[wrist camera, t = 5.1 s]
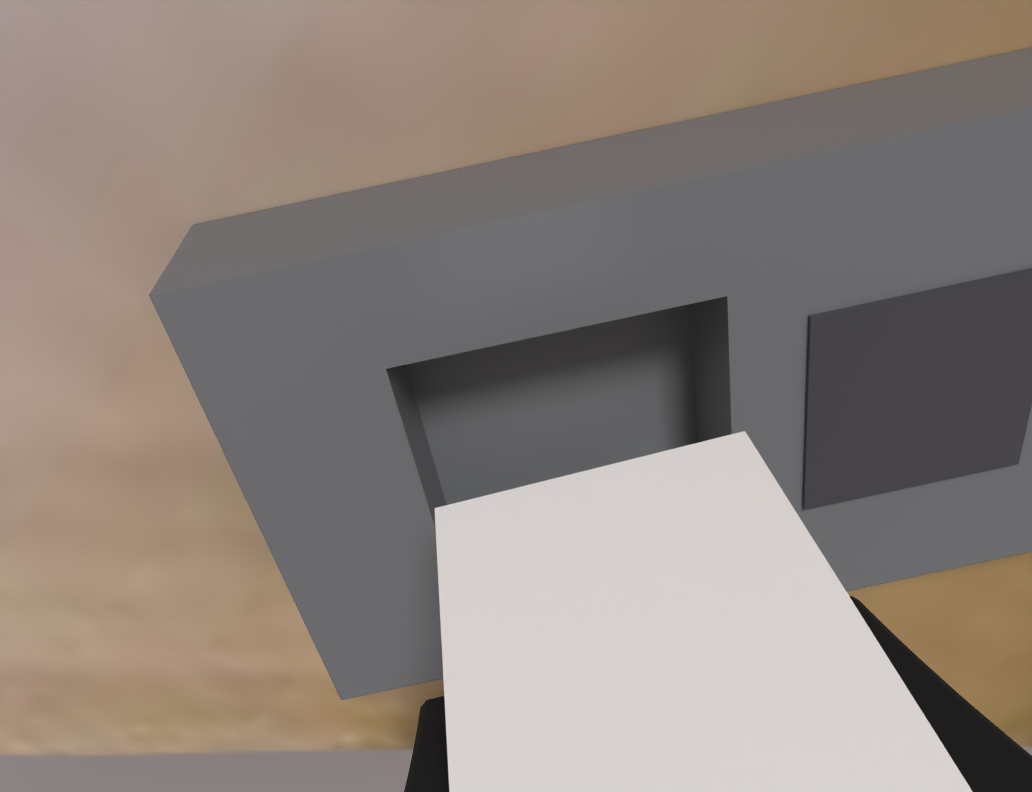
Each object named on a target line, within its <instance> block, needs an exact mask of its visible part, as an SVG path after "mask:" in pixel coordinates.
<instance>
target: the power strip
mask: <svg viewBox="0 0 1032 792" xmlns="http://www.w3.org/2000/svg"><path fill="white" fill-rule="evenodd" d="M149 296H150V298H151V300H152V302H153V305H154V307H155V309H156V311H157V313H158V315H159V317H160V319H161V321H162V323H163V326H164V328H165V330H166V332H167V334H168V336H169V338H170V340H171V342H172V345H173V347H174V349H175V351H176V353H177V355H178V357H179V359H180V361H181V364H182V366H183V368H184V370H185V372H186V374H187V376H188V378H189V380H190V383H191V385H192V387H193V389H194V391H195V393H196V395H197V397H198V399H199V401H200V404H201V406H202V408H203V410H204V412H205V414H206V416H207V418H208V420H209V423H210V425H211V427H212V429H213V431H214V433H215V435H216V437H217V439H218V442H219V444H220V446H221V448H222V450H223V452H224V454H225V456H226V458H227V461H228V463H229V465H230V467H231V469H232V471H233V473H234V475H235V477H236V479H237V482H238V484H239V486H240V488H241V490H242V492H243V494H244V496H245V498H246V501H247V503H248V505H249V507H250V509H251V511H252V513H253V515H254V517H255V520H256V522H257V524H258V526H259V528H260V530H261V532H262V534H263V536H264V539H265V541H266V543H267V545H268V547H269V549H270V551H271V553H272V555H273V557H274V560H275V562H276V564H277V566H278V568H279V570H280V572H281V574H282V576H283V579H284V581H285V583H286V585H287V587H288V589H289V591H290V593H291V595H292V598H293V600H294V602H295V604H296V606H297V608H298V610H299V612H300V614H301V617H302V619H303V621H304V623H305V625H306V627H307V629H308V631H309V633H310V635H311V638H312V640H313V642H314V644H315V646H316V648H317V650H318V652H319V654H320V657H321V659H322V661H323V663H324V665H325V667H326V669H327V671H328V673H329V676H330V678H331V680H332V682H333V684H334V686H335V688H336V690H337V692H338V695H339V697H340V699H341V700H345V699H350V698H354V697H359V696H363V695H368V694H373V693H377V692H382V691H387V690H391V689H396V688H401V687H405V686H410V685H415V684H419V683H424V682H428V681H433V680H438V679H442V678H443V660H442V641H441V622H440V603H439V584H438V565H437V546H436V526H435V508H437V507H441V506H445V505H450V504H454V503H458V502H462V501H466V500H470V499H474V498H478V497H482V496H486V495H490V494H494V493H498V492H502V491H506V490H510V489H514V488H518V487H522V486H526V485H530V484H534V483H538V482H542V481H546V480H550V479H554V478H558V477H562V476H566V475H570V474H574V473H578V472H582V471H586V470H590V469H594V468H598V467H602V466H606V465H610V464H614V463H618V462H622V461H626V460H630V459H634V458H638V457H642V456H646V455H650V454H654V453H658V452H662V451H667V450H671V449H675V448H679V447H683V446H687V445H691V444H695V443H699V442H703V441H707V440H711V439H715V438H719V437H723V436H727V435H731V434H735V433H739V432H743V431H745V432H746V433H747V435H748V437H749V438H750V440H751V441H752V443H753V445H754V446H755V448H756V449H757V451H758V452H759V454H760V456H761V457H762V459H763V460H764V462H765V464H766V465H767V467H768V468H769V470H770V471H771V473H772V475H773V476H774V478H775V479H776V481H777V483H778V484H779V486H780V487H781V489H782V491H783V492H784V494H785V495H786V497H787V498H788V500H789V502H790V503H791V505H792V506H793V508H794V510H795V511H796V513H797V514H798V516H799V517H800V519H801V521H802V522H803V524H804V525H805V527H806V529H807V530H808V532H809V533H810V535H811V536H812V538H813V540H814V541H815V543H816V544H817V546H818V548H819V549H820V551H821V552H822V554H823V555H824V557H825V559H826V560H827V562H828V563H829V565H830V567H831V568H832V570H833V571H834V573H835V574H836V576H837V578H838V579H839V581H840V582H841V584H842V586H843V587H844V589H845V590H846V591H851V590H856V589H860V588H865V587H870V586H874V585H879V584H884V583H888V582H893V581H897V580H902V579H907V578H911V577H916V576H921V575H925V574H930V573H935V572H939V571H944V570H949V569H953V568H958V567H962V566H967V565H972V564H976V563H981V562H986V561H990V560H995V559H1000V558H1004V557H1009V556H1014V555H1018V554H1023V553H1027V552H1032V48H1027V49H1023V50H1018V51H1013V52H1008V53H1004V54H999V55H994V56H989V57H985V58H980V59H975V60H971V61H966V62H961V63H956V64H952V65H947V66H942V67H937V68H933V69H928V70H923V71H918V72H914V73H909V74H904V75H900V76H895V77H890V78H885V79H881V80H876V81H871V82H866V83H862V84H857V85H852V86H848V87H843V88H838V89H833V90H829V91H824V92H819V93H814V94H810V95H805V96H800V97H796V98H791V99H786V100H781V101H777V102H772V103H767V104H762V105H758V106H753V107H748V108H743V109H739V110H734V111H729V112H725V113H720V114H715V115H710V116H706V117H701V118H696V119H691V120H687V121H682V122H677V123H673V124H668V125H663V126H658V127H654V128H649V129H644V130H639V131H635V132H630V133H625V134H621V135H616V136H611V137H606V138H602V139H597V140H592V141H587V142H583V143H578V144H573V145H569V146H564V147H559V148H554V149H550V150H545V151H540V152H535V153H531V154H526V155H521V156H516V157H512V158H507V159H502V160H498V161H493V162H488V163H483V164H479V165H474V166H469V167H464V168H460V169H455V170H450V171H446V172H441V173H436V174H431V175H427V176H422V177H417V178H412V179H408V180H403V181H398V182H394V183H389V184H384V185H379V186H375V187H370V188H365V189H360V190H356V191H351V192H346V193H341V194H337V195H332V196H327V197H323V198H318V199H313V200H308V201H304V202H299V203H294V204H289V205H285V206H280V207H275V208H271V209H266V210H261V211H256V212H252V213H247V214H242V215H237V216H233V217H228V218H223V219H219V220H214V221H209V222H204V223H200V224H195V225H192V227H191V228H190V230H189V232H188V233H187V235H186V236H185V238H184V240H183V241H182V243H181V244H180V246H179V248H178V249H177V251H176V253H175V254H174V256H173V257H172V259H171V261H170V262H169V264H168V265H167V267H166V269H165V270H164V272H163V273H162V275H161V277H160V278H159V280H158V281H157V283H156V285H155V286H154V288H153V290H152V291H151V293H150V294H149Z"/></svg>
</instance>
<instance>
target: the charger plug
mask: <svg viewBox="0 0 1032 792" xmlns="http://www.w3.org/2000/svg"><path fill="white" fill-rule="evenodd" d="M435 526H436V546H437V565H438V584H439V603H440V622H441V641H442V660H443V679H444V699H445V718H446V737H447V756H448V775H449V792H973V791H972V790H971V788H970V787H969V785H968V784H967V782H966V780H965V779H964V777H963V776H962V774H961V772H960V771H959V769H958V768H957V766H956V765H955V763H954V761H953V760H952V758H951V757H950V755H949V753H948V752H947V750H946V749H945V747H944V746H943V744H942V742H941V741H940V739H939V738H938V736H937V734H936V733H935V731H934V730H933V728H932V727H931V725H930V723H929V722H928V720H927V719H926V717H925V715H924V714H923V712H922V711H921V709H920V708H919V706H918V704H917V703H916V701H915V700H914V698H913V696H912V695H911V693H910V692H909V690H908V689H907V687H906V685H905V684H904V682H903V681H902V679H901V677H900V676H899V674H898V673H897V671H896V669H895V668H894V666H893V665H892V663H891V662H890V660H889V658H888V657H887V655H886V654H885V652H884V650H883V649H882V647H881V646H880V644H879V643H878V641H877V639H876V638H875V636H874V635H873V633H872V631H871V630H870V628H869V627H868V625H867V624H866V622H865V620H864V619H863V617H862V616H861V614H860V612H859V611H858V609H857V608H856V606H855V605H854V603H853V601H852V600H851V598H850V597H849V595H848V593H847V592H846V590H845V589H844V587H843V586H842V584H841V582H840V581H839V579H838V578H837V576H836V574H835V573H834V571H833V570H832V568H831V567H830V565H829V563H828V562H827V560H826V559H825V557H824V555H823V554H822V552H821V551H820V549H819V548H818V546H817V544H816V543H815V541H814V540H813V538H812V536H811V535H810V533H809V532H808V530H807V529H806V527H805V525H804V524H803V522H802V521H801V519H800V517H799V516H798V514H797V513H796V511H795V510H794V508H793V506H792V505H791V503H790V502H789V500H788V498H787V497H786V495H785V494H784V492H783V491H782V489H781V487H780V486H779V484H778V483H777V481H776V479H775V478H774V476H773V475H772V473H771V471H770V470H769V468H768V467H767V465H766V464H765V462H764V460H763V459H762V457H761V456H760V454H759V452H758V451H757V449H756V448H755V446H754V445H753V443H752V441H751V440H750V438H749V437H748V435H747V433H746V432H745V431H743V432H739V433H735V434H731V435H727V436H723V437H719V438H715V439H711V440H707V441H703V442H699V443H695V444H691V445H687V446H683V447H679V448H675V449H671V450H667V451H662V452H658V453H654V454H650V455H646V456H642V457H638V458H634V459H630V460H626V461H622V462H618V463H614V464H610V465H606V466H602V467H598V468H594V469H590V470H586V471H582V472H578V473H574V474H570V475H566V476H562V477H558V478H554V479H550V480H546V481H542V482H538V483H534V484H530V485H526V486H522V487H518V488H514V489H510V490H506V491H502V492H498V493H494V494H490V495H486V496H482V497H478V498H474V499H470V500H466V501H462V502H458V503H454V504H450V505H445V506H441V507H437V508H435Z"/></svg>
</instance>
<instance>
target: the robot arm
mask: <svg viewBox="0 0 1032 792" xmlns="http://www.w3.org/2000/svg"><path fill="white" fill-rule="evenodd" d="M849 597H850V598H851V600H852V601H853V603H854V605H855V606H856V608H857V609H858V611H859V612H860V614H861V616H862V617H863V619H864V620H865V622H866V624H867V625H868V627H869V628H870V630H871V631H872V633H873V635H874V636H875V638H876V639H877V641H878V643H879V644H880V646H881V647H882V649H883V650H884V652H885V654H886V655H887V657H888V658H889V660H890V662H891V663H892V665H893V666H894V668H895V669H896V671H897V673H898V674H899V676H900V677H901V679H902V681H903V682H904V684H905V685H906V687H907V689H908V690H909V692H910V693H911V695H912V696H913V698H914V700H915V701H916V703H917V704H918V706H919V708H920V709H921V711H922V712H923V714H924V715H925V717H926V719H927V720H928V722H929V723H930V725H931V727H932V728H933V730H934V731H935V733H936V734H937V736H938V738H939V739H940V741H941V742H942V744H943V746H944V747H945V749H946V750H947V752H948V753H949V755H950V757H951V758H952V760H953V761H954V763H955V765H956V766H957V768H958V769H959V771H960V772H961V774H962V776H963V777H964V779H965V780H966V782H967V784H968V785H969V787H970V788H971V790H972V791H973V792H1032V756H1031V755H1030V754H1029V753H1028V752H1026V751H1025V750H1024V749H1023V748H1022V747H1020V746H1019V745H1018V744H1017V743H1016V742H1014V741H1013V740H1012V739H1011V738H1010V737H1008V736H1007V735H1006V734H1005V733H1004V732H1003V731H1001V730H1000V729H999V728H998V727H997V726H995V725H994V724H993V723H992V722H991V721H990V720H988V719H987V718H986V717H985V716H984V715H982V714H981V713H980V712H979V711H978V710H977V709H975V708H974V707H973V706H972V705H971V704H970V703H968V702H967V701H966V700H965V699H964V698H963V697H962V696H960V695H959V694H958V693H957V692H956V691H955V690H954V689H952V688H951V687H950V686H949V685H948V684H947V683H946V682H945V681H944V680H942V679H941V678H940V677H939V676H938V675H937V674H936V673H935V672H934V671H933V670H931V669H930V668H929V667H928V666H927V665H926V664H925V663H924V662H923V661H922V660H920V659H919V658H918V657H917V656H916V655H915V654H914V653H913V652H912V651H911V650H910V649H909V648H908V647H907V646H905V645H904V644H903V643H902V642H901V641H900V640H899V639H898V638H897V637H896V636H895V635H894V634H893V633H892V632H891V631H890V630H889V629H888V628H887V627H886V626H885V625H884V624H882V623H881V622H880V621H879V620H878V619H877V618H876V617H875V616H874V615H873V614H872V613H871V612H870V611H869V610H868V609H867V608H866V607H865V606H864V605H863V604H862V603H861V602H860V601H859V600H858V599H856V598H854V597H852V596H849ZM404 792H449V775H448V756H447V737H446V718H445V699H444V696H442V697H438V698H434V699H430V700H426V702H425V703H424V704H423V705H422V707H421V709H420V715H419V722H418V728H417V734H416V739H415V744H414V749H413V754H412V760H411V764H410V769H409V774H408V778H407V782H406V787H405V791H404Z"/></svg>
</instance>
